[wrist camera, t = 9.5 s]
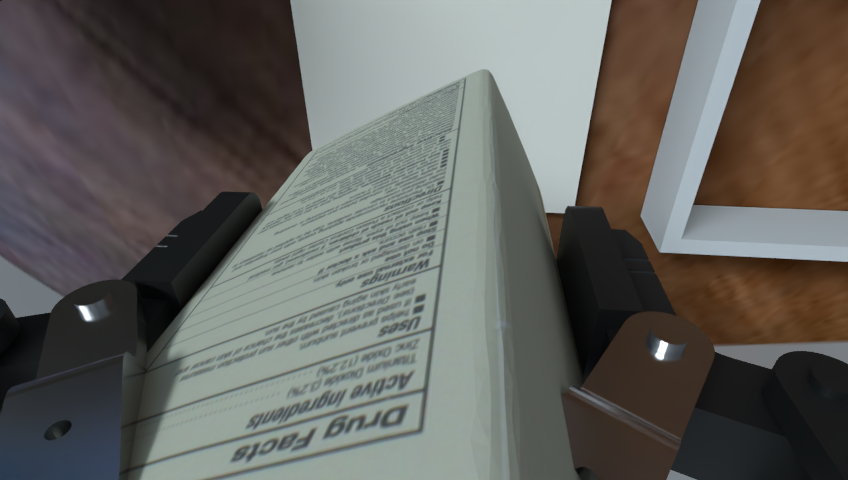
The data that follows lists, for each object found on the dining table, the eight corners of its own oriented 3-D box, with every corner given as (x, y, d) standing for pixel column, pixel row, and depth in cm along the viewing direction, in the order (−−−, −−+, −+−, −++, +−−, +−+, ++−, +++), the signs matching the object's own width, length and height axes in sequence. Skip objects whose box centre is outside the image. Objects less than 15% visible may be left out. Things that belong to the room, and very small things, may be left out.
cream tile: (281, -99, 20) (275, -99, 20) (626, -105, 19) (630, -106, 18) (323, 197, 28) (320, 202, 27) (571, 208, 27) (573, 213, 26)
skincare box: (374, 254, 17) (205, 749, 7) (302, 145, 15) (-89, 612, 5) (550, 188, 15) (684, 763, 5) (493, 51, 13) (513, 529, 3)
